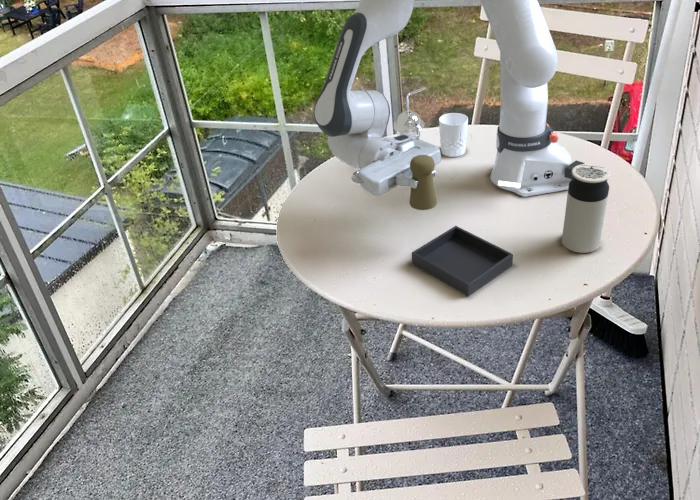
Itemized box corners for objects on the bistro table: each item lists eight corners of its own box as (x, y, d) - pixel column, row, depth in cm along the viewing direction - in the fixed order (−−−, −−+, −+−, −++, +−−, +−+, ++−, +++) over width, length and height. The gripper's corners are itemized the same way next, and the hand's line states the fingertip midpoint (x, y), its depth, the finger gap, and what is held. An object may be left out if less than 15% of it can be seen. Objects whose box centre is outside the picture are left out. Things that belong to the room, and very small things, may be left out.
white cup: (466, 144, 187) (467, 112, 181) (468, 157, 181) (468, 124, 175) (438, 145, 188) (438, 113, 182) (439, 158, 182) (439, 125, 176)
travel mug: (593, 257, 140) (605, 184, 130) (556, 248, 144) (565, 177, 133) (603, 238, 145) (616, 166, 135) (567, 229, 149) (577, 159, 139)
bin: (411, 264, 144) (411, 252, 142) (455, 236, 151) (455, 225, 149) (468, 296, 133) (468, 284, 132) (512, 265, 140) (513, 254, 139)
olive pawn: (418, 213, 140) (417, 167, 133) (404, 201, 144) (402, 156, 138) (442, 204, 142) (442, 159, 135) (427, 192, 146) (426, 148, 140)
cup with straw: (397, 150, 188) (393, 83, 176) (428, 151, 186) (427, 83, 174) (392, 164, 181) (389, 96, 169) (425, 165, 179) (423, 96, 168)
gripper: (345, 164, 141) (389, 185, 132) (413, 131, 151) (458, 149, 142) (348, 189, 145) (391, 212, 136) (414, 155, 154) (458, 174, 145)
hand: (426, 179), depth 139 cm, fingers closed on olive pawn, 4 cm apart
